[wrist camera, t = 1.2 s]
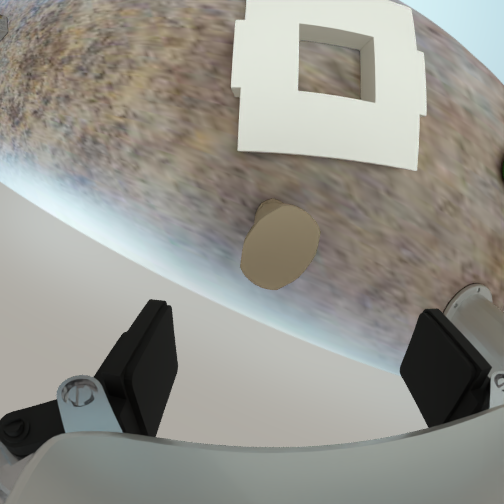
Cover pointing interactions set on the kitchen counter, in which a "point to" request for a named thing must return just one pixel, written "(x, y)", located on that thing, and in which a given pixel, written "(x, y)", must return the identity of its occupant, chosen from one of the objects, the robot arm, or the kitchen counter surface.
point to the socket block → (323, 105)
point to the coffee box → (3, 26)
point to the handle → (279, 245)
